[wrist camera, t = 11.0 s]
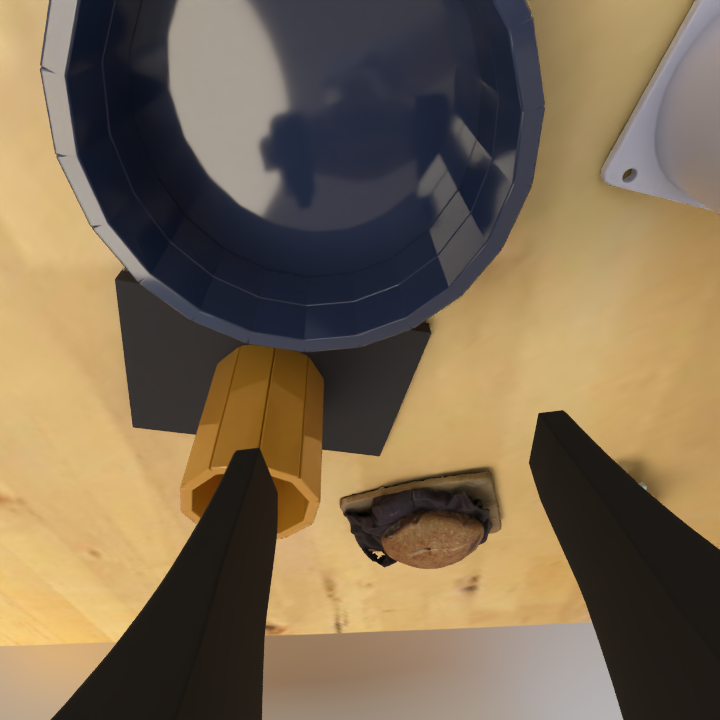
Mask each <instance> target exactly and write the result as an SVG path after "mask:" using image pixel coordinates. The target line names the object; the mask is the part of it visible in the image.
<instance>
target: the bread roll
mask: <svg viewBox="0 0 720 720" xmlns="http://www.w3.org/2000/svg"><path fill="white" fill-rule="evenodd" d="M340 508H341V510H342V511H343V514H344V516H346V517H347V519H348V521H349V522H350V525H351V533H352V534H354V535H355V538H356V541H357V542H358V544H359V546H360V547H361V548H362V550H363V551H364V553H365V554H366V555H367V556H368V557H369V558H370V559H371V560H372V561H374V562H375V561H376V562H377V563H378V564H380V565H382V566H383V567H387V566H390V565H392V564H394V563H396V562H397V561H399V562H401V563H404V564H406V565H409V566H411V567H416V568H423V569H436V568H441V567H445V566H448V565H451V564H454V563H456V562H458V561H461V560H462V559H463V558H465V557H466V556H468V555H469V554H470V553H472V552H473V551H474V550H475V549H476V548H477V547H478V545H480V544H482V543H484V542H485V541H486V540H487V536H488V534H489V533H495V532H498V531H499V530H500V529H501V520H500V518H499V511H498V505H497V502H496V498H495V491H494V487H493V482H492V477H491V474H490V473H489V471H488V472H486V473H484V472H482V473H479V472H478V474H476V473H474V474H473V473H468V475H466V474H460V475H455V476H454V477H452V476H451V475H450V476H449V477H446V478H443V475H442V477H441V479H440V478H435V479H433V478H431V479H426V480H424V482H423V481H417V482H416V481H415V480H414V482H410V483H406V484H400V485H398V486H392V487H389V488H384V487H383V486H382V487H380V488H379V490H376V491H369V492H367V493H365V494H357V495H353V494H352V496H350V497H346V498H342V499H340ZM374 551H381V552H383V553H384V554H385V555H382V557H380V558H379V559H377V558H376V557H378V556H377V555H376V554H375V553H374V554H372V553H373V552H374Z"/></svg>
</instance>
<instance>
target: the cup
mask: <svg viewBox="0 0 720 720" xmlns="http://www.w3.org/2000/svg"><path fill="white" fill-rule="evenodd" d="M323 398H324V379H323V377H322V376H321V374H320V373H319V371H318V369H317V368H316V366H315V365H314V363H313V362H312V360H311V359H310V357H308V356H307V355H305V354H303V353H300V352H298V351H291V350H285V349H278V348H272V347H265V346H259V345H252V344H251V345H242V346H241V347H240V346H239V347H238V348H236V349H235V350H234V351H233V352H231V353H230V354H229V355H228V356H226V357H225V358H224V359H223V360H221V361H220V362H219V363H218V364H217V366H216V369H215V373H214V376H213V379H212V383H211V386H210V389H209V393H208V396H207V400H206V403H205V406H204V410H203V413H202V416H201V420H200V423H199V426H198V430H197V433H196V436H195V440H194V443H193V446H192V450H191V453H190V457H189V460H188V463H187V467H186V470H185V473H184V477H183V480H182V483H181V487H180V501H181V511H182V513H183V514H184V515H185V516H187V517H188V518H189V519H190V520H192V521H193V522H194V523H196V524H198V522H199V520H200V518H201V517H202V515H203V513H204V511H205V509H206V508H207V506H208V504H209V502H210V500H211V498H212V496H213V494H214V492H215V491H216V489H217V487H218V485H219V483H220V481H221V479H222V477H223V475H224V473H225V471H226V469H227V466H228V464H229V462H230V460H231V458H232V456H233V454H234V453H235V452H236V450H243V449H252V448H260V450H261V452H262V455H263V457H264V460H265V462H266V465H267V467H268V469H269V472H270V474H271V477H272V479H273V482H274V484H275V487H276V489H277V492H278V527H277V539H283V537H284V538H286V537H288V536H290V535H292V534H294V533H296V532H298V531H300V530H302V529H304V528H306V527H308V526H310V525H312V523H313V522H314V520H315V517H316V513H317V510H318V507H319V504H320V496H321V463H322V431H323Z"/></svg>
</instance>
